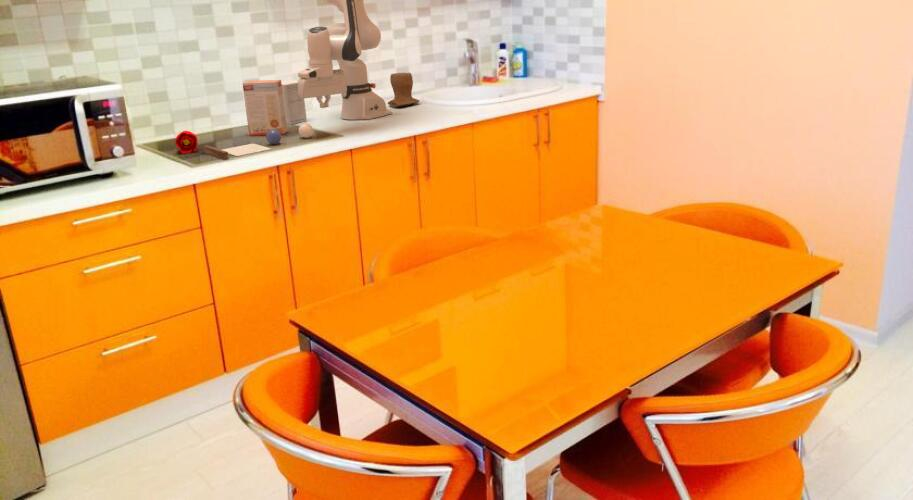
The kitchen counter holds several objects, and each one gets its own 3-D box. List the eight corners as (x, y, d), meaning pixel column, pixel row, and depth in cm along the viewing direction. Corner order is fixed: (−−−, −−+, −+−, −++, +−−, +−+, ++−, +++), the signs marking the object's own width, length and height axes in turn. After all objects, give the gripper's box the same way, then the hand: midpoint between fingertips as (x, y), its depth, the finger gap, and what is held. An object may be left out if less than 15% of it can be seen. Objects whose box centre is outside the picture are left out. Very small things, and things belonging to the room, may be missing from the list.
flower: (200, 133, 304) (200, 137, 296) (194, 153, 305) (194, 157, 298) (179, 126, 301) (178, 130, 293) (173, 146, 302) (172, 150, 295)
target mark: (253, 143, 307) (253, 143, 307) (272, 149, 297) (272, 148, 297) (219, 150, 299) (219, 150, 299) (237, 156, 289) (236, 155, 289)
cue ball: (309, 135, 318) (307, 121, 316) (316, 137, 314) (315, 123, 312) (296, 138, 314) (295, 123, 312) (304, 140, 310) (302, 125, 308)
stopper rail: (208, 152, 297) (207, 145, 296) (228, 158, 286) (227, 151, 285) (204, 152, 296) (203, 146, 295) (224, 159, 285) (223, 152, 284)
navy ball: (277, 141, 309) (275, 127, 307) (284, 143, 305) (283, 129, 303) (264, 144, 306) (262, 129, 304) (271, 146, 302) (270, 131, 300)
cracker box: (287, 132, 326) (281, 79, 319) (283, 135, 320) (277, 81, 313) (253, 132, 327) (247, 80, 320) (248, 135, 322) (241, 82, 315)
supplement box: (295, 118, 352) (290, 79, 346) (307, 121, 345) (303, 81, 340) (276, 122, 345) (271, 82, 340) (288, 125, 339) (283, 84, 333)
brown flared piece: (405, 101, 381) (403, 69, 376) (423, 104, 373) (421, 71, 368) (381, 106, 371) (378, 73, 366) (398, 109, 363) (396, 75, 358)
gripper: (339, 68, 320) (342, 103, 324) (294, 73, 307) (297, 110, 312) (348, 69, 315) (351, 104, 320) (302, 74, 303) (306, 111, 307)
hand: (324, 107), depth 316 cm, fingers closed
